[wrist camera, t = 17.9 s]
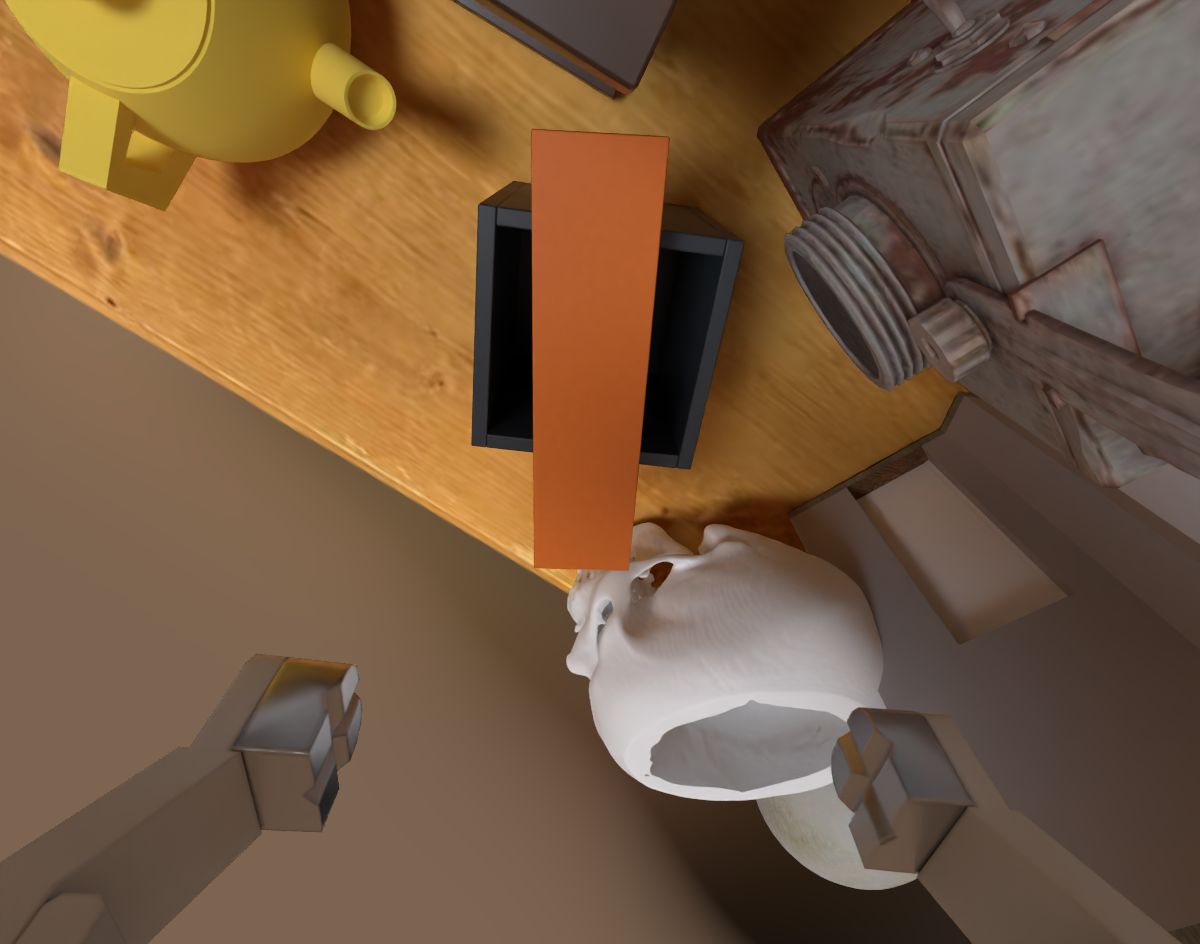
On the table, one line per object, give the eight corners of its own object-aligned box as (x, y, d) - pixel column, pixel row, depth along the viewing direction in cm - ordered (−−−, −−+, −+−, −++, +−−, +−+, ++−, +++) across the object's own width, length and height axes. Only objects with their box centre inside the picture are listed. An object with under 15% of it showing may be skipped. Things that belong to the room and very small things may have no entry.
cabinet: (860, 627, 49) (1122, 1110, 25) (748, 614, 48) (906, 1101, 24) (981, 395, 39) (1620, 830, 15) (841, 373, 38) (1279, 797, 14)
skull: (525, 498, 42) (598, 740, 25) (765, 442, 45) (975, 623, 28) (552, 633, 48) (625, 896, 31) (760, 576, 52) (927, 787, 35)
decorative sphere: (903, 903, 49) (758, 930, 43) (819, 725, 60) (694, 727, 54) (1052, 835, 40) (896, 857, 35) (923, 642, 51) (787, 633, 45)
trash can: (698, 207, 33) (745, 241, 23) (664, 381, 39) (690, 470, 28) (512, 180, 33) (478, 203, 23) (502, 361, 38) (471, 446, 28)
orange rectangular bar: (626, 539, 30) (629, 571, 28) (538, 537, 30) (533, 568, 28) (661, 136, 22) (669, 136, 19) (536, 129, 21) (531, 129, 19)
